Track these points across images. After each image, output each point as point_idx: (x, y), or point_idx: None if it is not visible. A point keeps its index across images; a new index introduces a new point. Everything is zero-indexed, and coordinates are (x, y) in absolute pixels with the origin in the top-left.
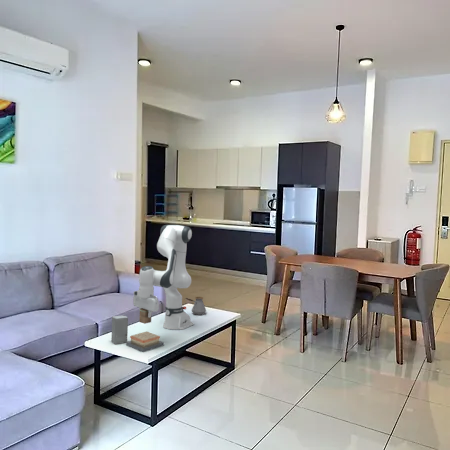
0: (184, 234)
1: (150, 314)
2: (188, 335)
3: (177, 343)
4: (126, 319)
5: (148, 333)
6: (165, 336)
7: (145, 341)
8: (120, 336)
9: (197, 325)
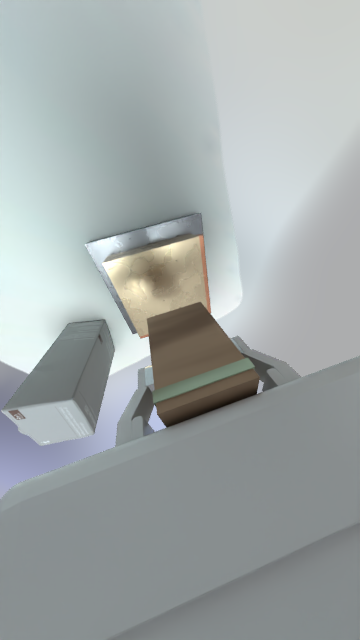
0: None
1: (249, 352)
2: None
3: (210, 118)
4: (80, 394)
5: (141, 269)
6: (57, 92)
7: (209, 307)
8: (107, 353)
9: None
